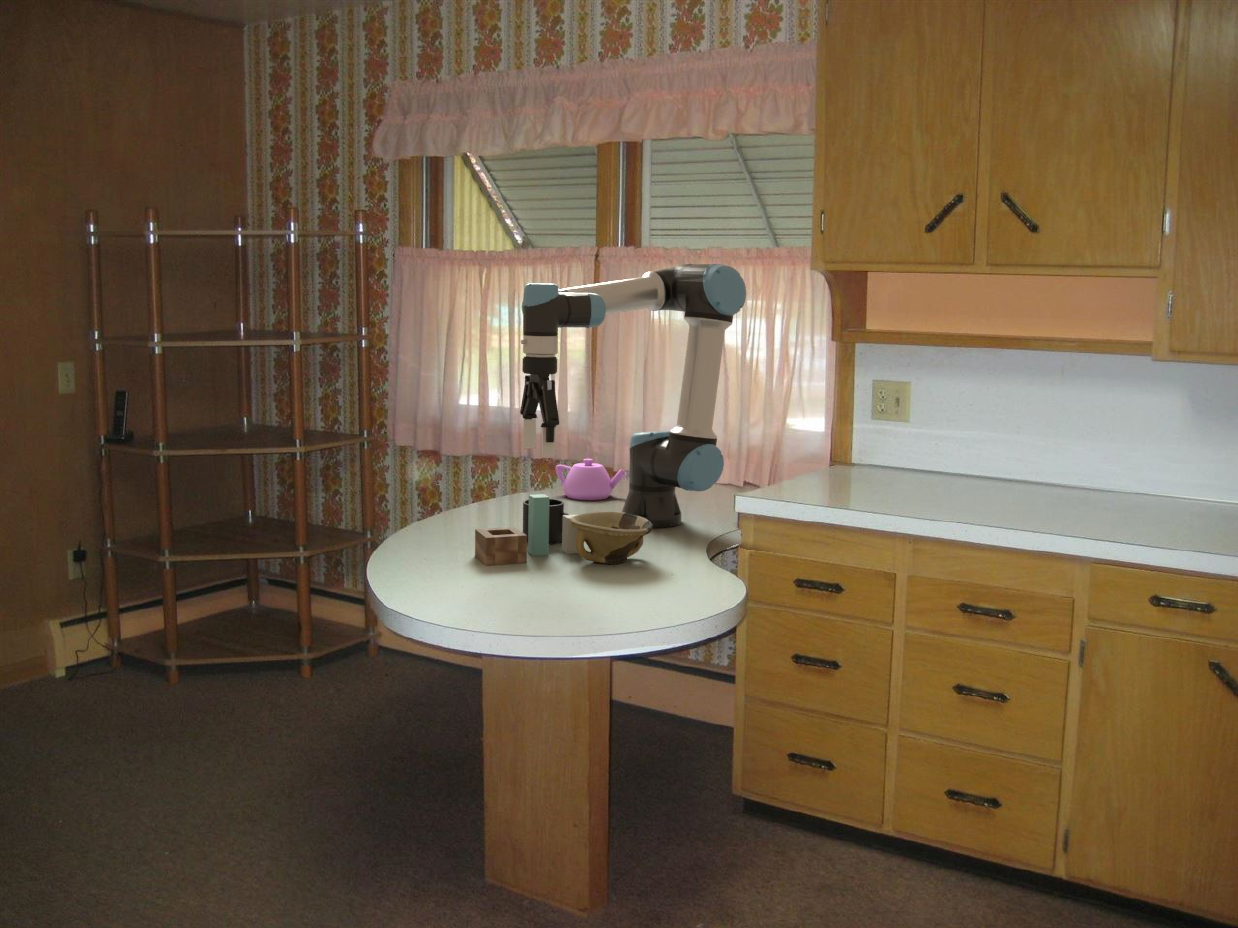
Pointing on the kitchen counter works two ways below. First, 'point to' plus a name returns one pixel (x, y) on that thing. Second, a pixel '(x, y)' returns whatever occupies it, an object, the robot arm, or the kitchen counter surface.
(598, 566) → the kitchen counter surface
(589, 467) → the teapot
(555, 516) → the mug
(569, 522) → the peg mid
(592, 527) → the bowl
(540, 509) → the peg long
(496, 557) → the socket block
